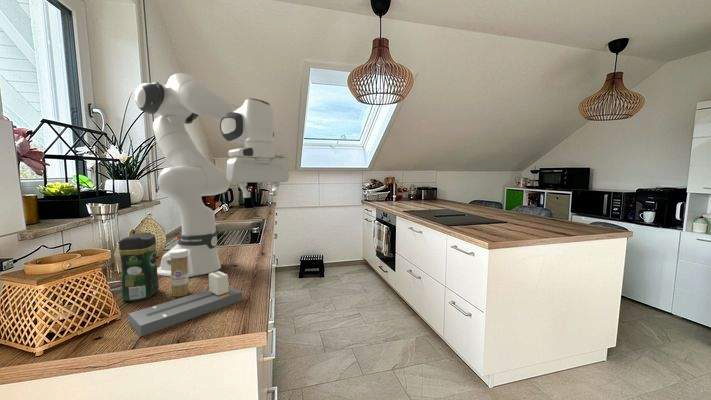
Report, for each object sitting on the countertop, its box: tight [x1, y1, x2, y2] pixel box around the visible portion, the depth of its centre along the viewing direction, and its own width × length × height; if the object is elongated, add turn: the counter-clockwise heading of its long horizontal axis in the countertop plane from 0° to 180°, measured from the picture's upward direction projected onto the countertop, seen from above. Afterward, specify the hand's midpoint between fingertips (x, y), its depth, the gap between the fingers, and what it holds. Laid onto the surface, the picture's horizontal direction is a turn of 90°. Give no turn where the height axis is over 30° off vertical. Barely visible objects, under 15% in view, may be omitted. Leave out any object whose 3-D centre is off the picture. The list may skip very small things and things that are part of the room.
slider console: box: [128, 284, 243, 337], centre depth 75 cm, size 24×9×3 cm, turn 142°
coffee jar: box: [118, 232, 160, 302], centre depth 84 cm, size 10×8×19 cm
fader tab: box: [208, 270, 229, 295], centre depth 80 cm, size 3×5×5 cm, turn 52°
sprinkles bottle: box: [170, 249, 190, 298], centre depth 85 cm, size 5×5×14 cm
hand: (260, 196), depth 89 cm, fingers open, 8 cm apart
